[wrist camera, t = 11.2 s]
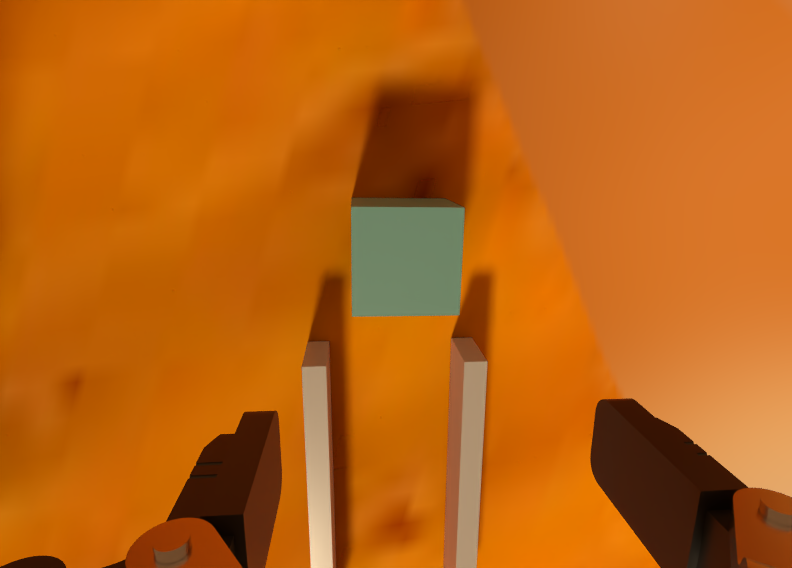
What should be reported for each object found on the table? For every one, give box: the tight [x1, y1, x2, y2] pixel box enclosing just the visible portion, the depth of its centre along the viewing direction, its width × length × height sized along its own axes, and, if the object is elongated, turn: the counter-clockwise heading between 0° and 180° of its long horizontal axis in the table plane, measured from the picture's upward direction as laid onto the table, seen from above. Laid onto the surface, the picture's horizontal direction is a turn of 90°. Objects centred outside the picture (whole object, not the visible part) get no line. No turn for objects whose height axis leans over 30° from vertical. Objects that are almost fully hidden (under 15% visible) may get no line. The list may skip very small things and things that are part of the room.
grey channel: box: [302, 337, 488, 568], centre depth 29 cm, size 9×18×4 cm, turn 179°
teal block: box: [351, 198, 465, 316], centre depth 25 cm, size 5×5×5 cm
